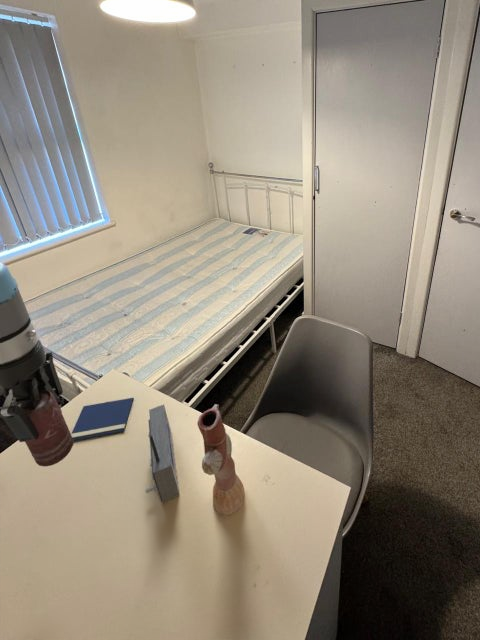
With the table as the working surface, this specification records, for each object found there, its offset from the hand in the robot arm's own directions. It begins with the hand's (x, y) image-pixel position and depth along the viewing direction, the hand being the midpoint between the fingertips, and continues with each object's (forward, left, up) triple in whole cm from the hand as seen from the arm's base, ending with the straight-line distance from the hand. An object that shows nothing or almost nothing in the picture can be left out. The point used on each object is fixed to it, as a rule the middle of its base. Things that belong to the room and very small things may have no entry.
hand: (55, 440), depth 63 cm
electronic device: (+15, +6, -24) cm, 29 cm away
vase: (+31, -6, -24) cm, 40 cm away
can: (0, -1, -2) cm, 2 cm away
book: (-4, +23, -24) cm, 34 cm away
